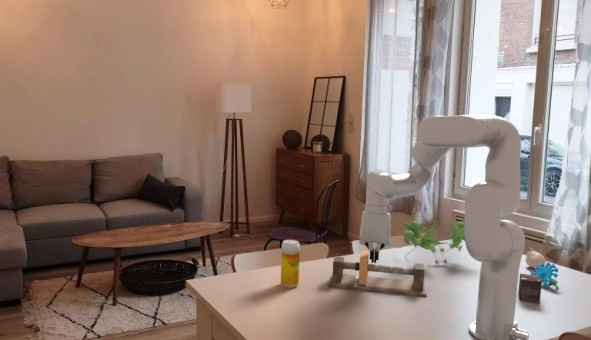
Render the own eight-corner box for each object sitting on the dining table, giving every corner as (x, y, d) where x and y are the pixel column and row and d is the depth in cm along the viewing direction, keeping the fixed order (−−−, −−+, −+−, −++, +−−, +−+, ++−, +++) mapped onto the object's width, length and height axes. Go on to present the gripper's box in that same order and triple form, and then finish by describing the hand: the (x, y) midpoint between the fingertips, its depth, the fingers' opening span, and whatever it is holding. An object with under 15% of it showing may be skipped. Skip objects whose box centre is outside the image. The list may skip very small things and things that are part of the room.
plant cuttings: (388, 277, 198) (411, 258, 179) (380, 237, 206) (401, 214, 187) (467, 272, 207) (497, 254, 188) (456, 234, 215) (483, 212, 196)
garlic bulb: (540, 266, 196) (542, 246, 195) (546, 271, 190) (549, 251, 189) (523, 265, 197) (524, 245, 196) (528, 270, 191) (530, 250, 190)
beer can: (296, 289, 164) (298, 245, 162) (278, 287, 166) (279, 243, 164) (300, 283, 170) (301, 240, 168) (282, 281, 171) (284, 238, 169)
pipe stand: (424, 283, 173) (426, 261, 172) (426, 296, 161) (428, 273, 160) (332, 275, 179) (333, 253, 178) (328, 286, 167) (329, 263, 166)
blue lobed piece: (523, 274, 180) (544, 256, 180) (531, 285, 182) (553, 267, 181) (541, 290, 170) (564, 271, 169) (550, 301, 172) (573, 282, 171)
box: (537, 297, 164) (540, 275, 163) (540, 304, 159) (542, 281, 158) (517, 294, 166) (519, 273, 165) (519, 300, 161) (521, 278, 160)
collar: (367, 275, 175) (369, 250, 174) (366, 284, 166) (367, 258, 165) (360, 275, 176) (361, 250, 174) (358, 284, 167) (359, 257, 166)
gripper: (399, 208, 169) (396, 260, 172) (355, 204, 172) (352, 256, 175) (399, 212, 162) (396, 267, 164) (353, 209, 165) (350, 263, 167)
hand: (373, 261), depth 169 cm, fingers closed
